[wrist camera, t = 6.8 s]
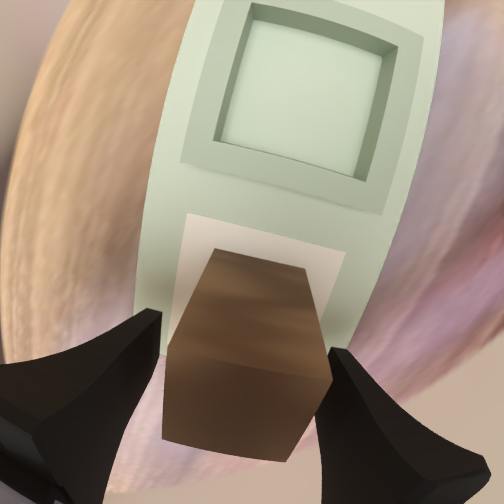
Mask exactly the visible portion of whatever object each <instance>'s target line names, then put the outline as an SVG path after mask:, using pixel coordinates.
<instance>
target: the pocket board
mask: <svg viewBox="0 0 504 504" xmlns="http://www.w3.org/2000/svg"><path fill="white" fill-rule="evenodd" d="M444 2H445V0H196V2H195V4H194V7H193V10H192V13H191V16H190V19H189V22H188V25H187V28H186V31H185V34H184V37H183V40H182V43H181V46H180V49H179V53H178V56H177V60H176V63H175V66H174V70H173V74H172V77H171V81H170V85H169V88H168V92H167V96H166V100H165V104H164V108H163V112H162V117H161V121H160V125H159V130H158V135H157V139H156V144H155V149H154V154H153V159H152V164H151V170H150V175H149V181H148V187H147V193H146V199H145V206H144V212H143V219H142V227H141V234H140V243H139V251H138V261H137V271H136V282H135V294H134V309H133V316H134V315H136V314H137V313H139V312H140V311H142V310H144V309H146V308H150V309H153V310H157V311H161V312H163V314H162V326H161V340H160V355H163V356H167V347H168V345H169V343H170V340H171V338H172V336H173V334H174V332H175V330H176V328H177V325H178V323H179V321H180V319H181V317H182V315H183V313H184V310H185V308H186V306H187V304H188V302H189V300H190V298H191V296H192V294H193V292H194V289H195V287H196V285H197V283H198V281H199V279H200V277H201V275H202V273H203V271H204V269H205V267H206V265H207V263H208V261H209V259H210V257H211V255H212V253H213V250H214V248H217V249H221V250H225V251H230V252H234V253H238V254H243V255H247V256H251V257H256V258H260V259H265V260H269V261H273V262H278V263H282V264H287V265H291V266H295V267H300V268H304V269H305V270H306V274H307V277H308V281H309V285H310V289H311V292H312V296H313V300H314V304H315V308H316V312H317V316H318V320H319V324H320V328H321V332H322V336H323V340H324V344H325V348H326V352H327V355H328V353H329V350H330V348H331V347H337V348H344V349H347V347H348V345H349V343H350V340H351V338H352V336H353V334H354V332H355V330H356V328H357V326H358V323H359V321H360V319H361V317H362V315H363V312H364V310H365V308H366V306H367V303H368V301H369V299H370V296H371V294H372V292H373V289H374V287H375V284H376V282H377V280H378V277H379V275H380V272H381V270H382V267H383V264H384V262H385V259H386V257H387V254H388V251H389V249H390V246H391V243H392V240H393V238H394V235H395V232H396V229H397V226H398V223H399V220H400V217H401V214H402V211H403V208H404V205H405V202H406V199H407V196H408V192H409V189H410V186H411V182H412V179H413V176H414V172H415V168H416V165H417V161H418V157H419V154H420V150H421V146H422V142H423V138H424V134H425V129H426V125H427V120H428V116H429V111H430V106H431V101H432V96H433V91H434V85H435V80H436V74H437V67H438V60H439V53H440V46H441V37H442V27H443V16H444Z"/></svg>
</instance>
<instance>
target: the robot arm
mask: <svg viewBox="0 0 504 504" xmlns="http://www.w3.org/2000/svg"><path fill="white" fill-rule="evenodd" d="M162 314H163V312H161V311H157V310H153V309H150V308H146V309H144V310H142V311H140V312H139V313H137V314H136V315H134V316H132V317H131V318H129V319H127V320H126V321H124V322H123V323H121V324H119V325H118V326H116V327H114V328H112V329H111V330H109V331H107V332H105V333H103V334H102V335H100V336H98V337H96V338H94V339H92V340H90V341H88V342H86V343H83V344H81V345H79V346H76V347H74V348H71V349H68V350H66V351H63V352H60V353H57V354H53V355H50V356H46V357H43V358H39V359H35V360H30V361H25V362H18V363H11V364H1V365H0V504H102V503H103V499H104V494H105V491H106V487H107V483H108V480H109V476H110V473H111V469H112V466H113V463H114V460H115V457H116V454H117V451H118V448H119V445H120V442H121V439H122V437H123V434H124V431H125V429H126V426H127V424H128V422H129V420H130V418H131V416H132V414H133V412H134V410H135V408H136V406H137V404H138V402H139V401H140V399H141V397H142V395H143V393H144V391H145V389H146V387H147V385H148V383H149V381H150V379H151V377H152V375H153V372H154V369H155V367H156V364H157V361H158V358H159V355H160V340H161V326H162ZM327 356H328V361H329V365H330V369H331V374H332V378H333V381H332V383H331V385H330V387H329V389H328V391H327V393H326V395H325V396H324V398H323V400H322V402H321V404H320V406H319V407H318V409H317V411H316V413H315V422H316V428H317V435H318V441H319V448H320V454H321V464H322V501H321V504H464V503H465V502H466V501H467V500H469V499H470V498H471V497H472V496H473V495H475V494H476V493H477V492H478V491H480V490H481V489H482V488H483V487H484V486H485V485H486V484H487V482H488V481H489V479H490V477H491V472H490V470H489V468H488V466H487V463H486V461H485V459H484V457H483V456H482V455H479V454H476V453H474V452H471V451H469V450H466V449H464V448H462V447H460V446H458V445H455V444H454V443H452V442H450V441H448V440H446V439H444V438H443V437H441V436H439V435H437V434H436V433H434V432H433V431H431V430H430V429H428V428H427V427H425V426H424V425H422V424H421V423H420V422H418V421H417V420H416V419H414V418H413V417H412V416H411V415H409V414H408V413H407V412H406V411H405V410H404V409H402V408H401V407H400V406H399V405H398V404H397V403H396V402H395V401H394V400H393V399H392V398H391V397H390V396H389V395H388V394H387V393H386V392H385V391H384V390H383V389H382V388H381V387H380V386H379V385H378V384H377V383H376V382H375V381H374V379H373V378H372V377H371V376H370V375H369V374H368V373H367V371H366V370H365V369H364V368H363V367H362V366H361V365H360V363H359V362H358V361H357V360H356V359H355V358H354V356H353V355H352V354H351V353H350V352H349V351H348V350H347V349H344V348H337V347H331V348H330V350H329V353H328V355H327Z"/></svg>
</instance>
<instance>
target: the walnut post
mask: <svg viewBox="0 0 504 504" xmlns="http://www.w3.org/2000/svg"><path fill="white" fill-rule="evenodd" d="M332 381H333V378H332V374H331V369H330V365H329V361H328V356H327V352H326V348H325V344H324V340H323V336H322V332H321V328H320V324H319V320H318V316H317V312H316V308H315V304H314V300H313V296H312V292H311V289H310V285H309V281H308V277H307V274H306V270H305V269H304V268H300V267H295V266H291V265H287V264H282V263H278V262H273V261H269V260H265V259H260V258H256V257H251V256H247V255H243V254H238V253H234V252H230V251H225V250H221V249H217V248H214V250H213V253H212V255H211V257H210V259H209V261H208V263H207V265H206V267H205V269H204V271H203V273H202V275H201V277H200V279H199V281H198V283H197V285H196V287H195V289H194V292H193V294H192V296H191V298H190V300H189V302H188V304H187V306H186V308H185V310H184V313H183V315H182V317H181V319H180V321H179V323H178V325H177V328H176V330H175V332H174V334H173V336H172V338H171V340H170V343H169V345H168V347H167V357H166V369H165V383H164V399H163V419H162V439H163V440H167V441H170V442H174V443H178V444H182V445H186V446H190V447H194V448H198V449H203V450H208V451H212V452H217V453H223V454H228V455H234V456H240V457H246V458H253V459H260V460H268V461H277V462H286V461H287V459H288V458H289V456H290V455H291V453H292V451H293V450H294V448H295V447H296V445H297V443H298V442H299V440H300V438H301V437H302V435H303V433H304V432H305V430H306V428H307V427H308V425H309V423H310V422H311V420H312V418H313V416H314V415H315V413H316V411H317V409H318V407H319V406H320V404H321V402H322V400H323V398H324V396H325V395H326V393H327V391H328V389H329V387H330V385H331V383H332Z"/></svg>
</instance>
